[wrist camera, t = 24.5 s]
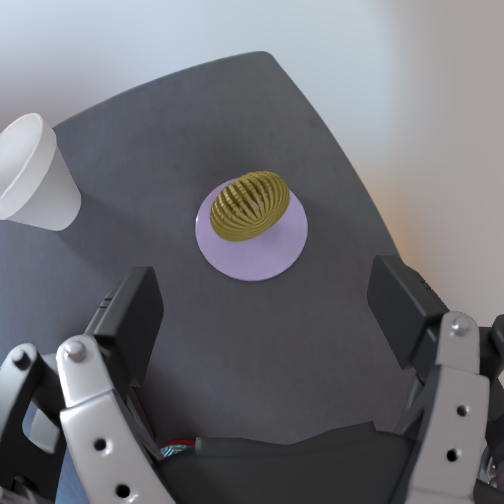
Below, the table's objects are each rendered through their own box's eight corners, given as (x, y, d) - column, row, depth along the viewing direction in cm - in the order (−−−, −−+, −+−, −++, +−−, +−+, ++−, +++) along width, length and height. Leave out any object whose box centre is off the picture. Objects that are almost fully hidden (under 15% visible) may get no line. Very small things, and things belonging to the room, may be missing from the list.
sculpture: (271, 192, 31) (277, 148, 23) (292, 220, 30) (305, 182, 22) (208, 228, 29) (194, 191, 22) (228, 259, 28) (218, 230, 21)
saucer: (299, 179, 32) (300, 174, 31) (311, 278, 29) (313, 276, 28) (198, 183, 32) (197, 179, 31) (196, 284, 29) (195, 282, 28)
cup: (101, 232, 30) (34, 176, 17) (33, 261, 29) (-35, 226, 16) (96, 158, 34) (51, 95, 21) (35, 190, 33) (-16, 144, 20)
